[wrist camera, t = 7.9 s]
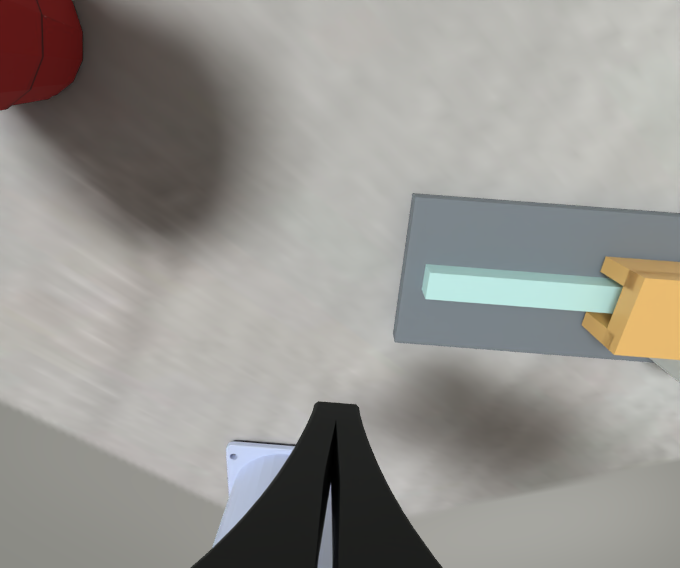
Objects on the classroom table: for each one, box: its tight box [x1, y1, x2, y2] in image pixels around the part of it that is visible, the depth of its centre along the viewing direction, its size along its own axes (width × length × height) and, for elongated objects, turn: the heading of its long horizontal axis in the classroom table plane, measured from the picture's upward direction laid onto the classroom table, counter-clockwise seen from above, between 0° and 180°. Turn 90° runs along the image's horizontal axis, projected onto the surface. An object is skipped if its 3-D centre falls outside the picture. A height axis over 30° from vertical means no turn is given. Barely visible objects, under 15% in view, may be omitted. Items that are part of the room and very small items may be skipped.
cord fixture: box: [393, 193, 680, 383], centre depth 19 cm, size 8×20×4 cm, turn 86°
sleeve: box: [582, 256, 680, 360], centre depth 18 cm, size 4×4×3 cm
